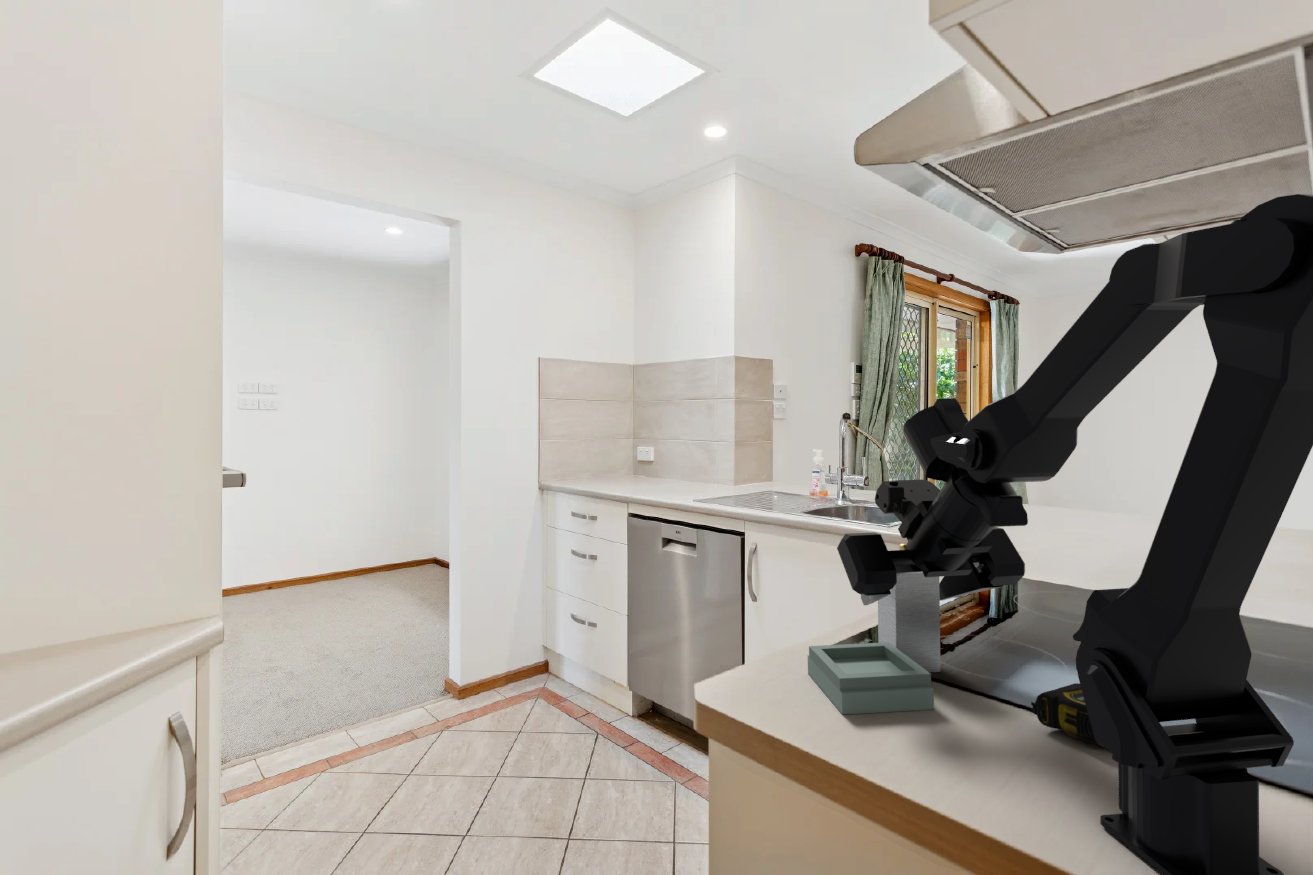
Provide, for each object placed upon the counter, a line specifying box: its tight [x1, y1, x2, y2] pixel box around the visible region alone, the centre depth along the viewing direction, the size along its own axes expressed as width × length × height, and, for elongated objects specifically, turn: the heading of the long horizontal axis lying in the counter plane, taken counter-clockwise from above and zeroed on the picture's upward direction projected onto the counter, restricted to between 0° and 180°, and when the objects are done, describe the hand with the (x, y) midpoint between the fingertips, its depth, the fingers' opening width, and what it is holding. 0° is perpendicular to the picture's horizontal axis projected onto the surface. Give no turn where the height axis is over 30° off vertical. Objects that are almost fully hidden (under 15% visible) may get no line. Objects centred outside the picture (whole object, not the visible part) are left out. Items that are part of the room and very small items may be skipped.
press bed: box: [807, 642, 935, 715], centre depth 65 cm, size 10×9×3 cm
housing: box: [877, 542, 941, 673], centre depth 71 cm, size 4×5×14 cm
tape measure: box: [1030, 682, 1100, 746], centre depth 54 cm, size 7×7×4 cm
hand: (901, 599), depth 73 cm, fingers open, 9 cm apart
